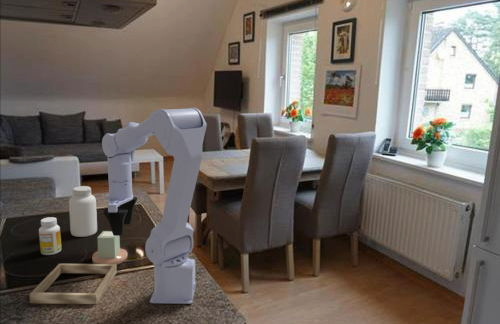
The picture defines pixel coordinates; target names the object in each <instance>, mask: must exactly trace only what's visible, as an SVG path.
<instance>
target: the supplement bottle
mask: <svg viewBox="0 0 500 324" xmlns="http://www.w3.org/2000/svg"><path fill="white" fill-rule="evenodd" d="M57 221H58V220H57V217H53V216H51V217H50V216H48V217H44V218H42V219H41V220H40V225H41V226H40V227H39V229H38V237H39V248H40V254H41V255H44V256H51V255H56V254H58V253H59V252H61V251H62V237H61V236H62V235H61V227H60V226H59V225H58V222H57Z"/></svg>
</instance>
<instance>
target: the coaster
mask: <svg viewBox="0 0 500 324" xmlns="http://www.w3.org/2000/svg"><path fill="white" fill-rule="evenodd" d="M127 254H128V253H127V251H126V250H125V249H124V248H121V247H120V252H119V254H118V255H117V256H116V258H98V250H97V251H95V252H94V253H93V254H92V257H91V259H92V264H116V265H119V264H122V263H123V262H124V261H126V260H127V257H128V256H127Z"/></svg>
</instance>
